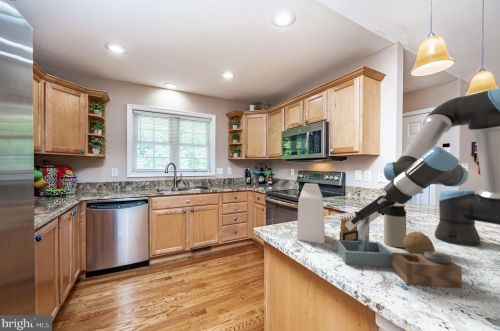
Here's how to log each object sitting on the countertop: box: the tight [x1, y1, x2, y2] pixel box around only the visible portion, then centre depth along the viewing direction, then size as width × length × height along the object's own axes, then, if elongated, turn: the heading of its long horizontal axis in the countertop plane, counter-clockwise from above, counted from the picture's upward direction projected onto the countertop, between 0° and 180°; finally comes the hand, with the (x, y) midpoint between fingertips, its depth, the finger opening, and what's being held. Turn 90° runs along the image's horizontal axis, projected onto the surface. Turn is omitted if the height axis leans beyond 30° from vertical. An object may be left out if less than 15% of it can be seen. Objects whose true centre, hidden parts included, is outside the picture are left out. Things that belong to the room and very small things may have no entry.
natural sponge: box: [403, 231, 436, 254], centre depth 77 cm, size 9×9×10 cm
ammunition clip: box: [339, 214, 358, 241], centre depth 94 cm, size 11×2×12 cm, turn 118°
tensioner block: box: [391, 251, 463, 289], centre depth 63 cm, size 14×8×8 cm, turn 81°
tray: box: [335, 239, 393, 268], centre depth 78 cm, size 16×12×4 cm
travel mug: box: [383, 202, 407, 249], centre depth 91 cm, size 8×8×18 cm
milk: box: [296, 183, 326, 244], centre depth 101 cm, size 12×12×26 cm
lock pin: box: [357, 216, 370, 252], centre depth 78 cm, size 4×4×16 cm
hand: (356, 224), depth 80 cm, fingers open, 13 cm apart
